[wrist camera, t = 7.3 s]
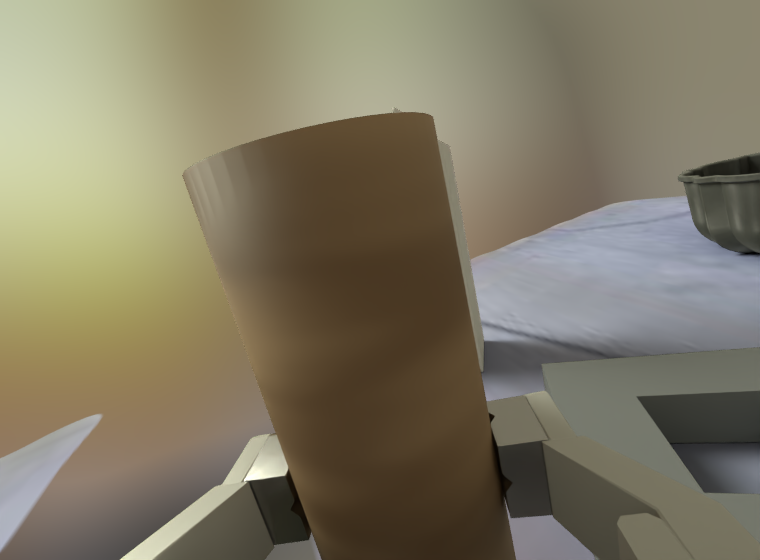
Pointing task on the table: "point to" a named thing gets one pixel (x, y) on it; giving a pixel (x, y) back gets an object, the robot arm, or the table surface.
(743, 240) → the bundt pan
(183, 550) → the robot arm
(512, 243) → the table surface
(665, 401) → the socket block
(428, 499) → the dowel
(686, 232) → the table surface
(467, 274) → the milk
